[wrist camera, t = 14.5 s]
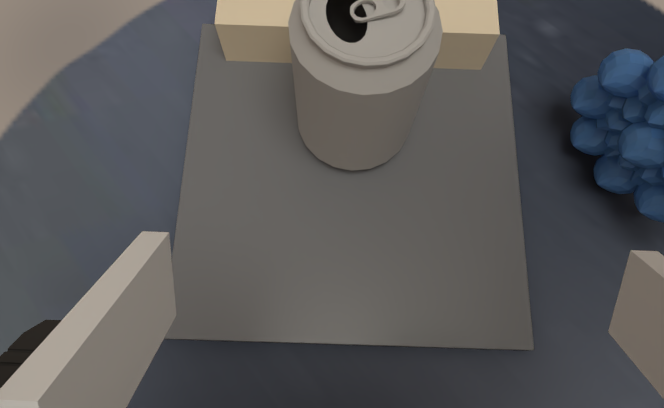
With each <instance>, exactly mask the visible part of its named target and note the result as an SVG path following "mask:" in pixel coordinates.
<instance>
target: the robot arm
mask: <svg viewBox="0 0 664 408" xmlns="http://www.w3.org/2000/svg"><path fill="white" fill-rule="evenodd" d="M175 317H176V304H175V293H174V282H173V271H172V260H171V248H170V237H169V232H145V231H142V232H141V233H140V234H139V236H138V237H137V238H136V239H135V240H134V241H133V242H132V243H131V244H130V245H129V247H128V248H127V249H126V250H125V251H124V252H123V253H122V254H121V255H120V257H119V258H118V259H117V260H116V261H115V262H114V263H113V264H112V265H111V267H110V268H109V269H108V270H107V271H106V272H105V273H104V274H103V275H102V277H101V278H100V279H99V280H98V281H97V282H96V283H95V284H94V285H93V286H92V288H91V289H90V290H89V291H88V292H87V293H86V294H85V295H84V296H83V298H82V299H81V300H80V301H79V302H78V303H77V304H76V305H75V306H74V308H73V309H72V310H71V311H70V312H69V313H68V314H67V315H66V316H65V317H64V319H63V320H45V321H43V322H41V323H40V324H38V325H36V326H34V327H33V328H31V329H29V330H28V331H26V332H24V333H23V334H22V335H21V336H20V337H19V338H18V339H17V340H16V341H15V342H14V343H13V344H12V345H11V346H10V347H9V348H8V351H7V352H4V353H3V354H2V355H1V356H0V408H126V407H127V405H128V404H129V402H130V400H131V398H132V396H133V394H134V392H135V391H136V389H137V387H138V385H139V383H140V381H141V380H142V378H143V376H144V374H145V372H146V370H147V369H148V367H149V365H150V363H151V361H152V359H153V357H154V356H155V354H156V352H157V350H158V348H159V346H160V345H161V343H162V341H163V339H164V337H165V335H166V333H167V332H168V330H169V328H170V326H171V324H172V322H173V321H174V319H175ZM608 332H609V334H610V335H611V336H612V337H613V339H614V340H615V341H616V342H617V343H618V345H619V346H620V347H621V348H622V349H623V351H624V352H625V353H626V354H627V355H628V357H629V358H630V359H631V360H632V361H633V363H634V364H635V365H636V366H637V367H638V369H639V370H640V371H641V372H642V373H643V375H644V376H645V377H646V378H647V379H648V381H649V382H650V383H651V384H652V385H653V387H654V388H655V389H656V390H657V391H658V393H659V394H660V395H661V396H662V398H663V399H664V256H663V255H662V254H661V253H659V252H658V251H637V250H631V251H630V254H629V258H628V261H627V265H626V269H625V272H624V276H623V280H622V283H621V287H620V291H619V294H618V298H617V301H616V305H615V309H614V312H613V316H612V320H611V323H610V327H609V331H608Z"/></svg>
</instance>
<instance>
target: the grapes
mask: <svg viewBox="0 0 664 408" xmlns="http://www.w3.org/2000/svg"><path fill="white" fill-rule="evenodd" d="M570 96H571V105H572V108H573V109H574V110H575V111H576V112H577V113H579V114H580V115H582V116H581V117H580V118H579V119H578V120H576V121H575V122H574V123H573V125H572V128H571V131H570V140H571V143H572V145H573V146H574V147H575V148H576V149H578V150H579V151H581V152H583V153H585V154H589V155H594V156H597V155H602V156H601V157H600V158H598V159H597V160H596V163H595V165H594V168H593V172H594V179H595V181H596V183H597V184H598V185H599V186H600V187H601V188H603V189H605V190H607V191H609V192H613V193H617V194H627V193H632V192H634V191H635V192H634V203H635V205H636V207H637V209H638V211H639V212H640V213H641V214H642V215H644V216H646V217H648V218H649V219H652V220H655V221H659V222H663V223H664V55H663V56H662V57H660V58H659V59H658V60H657V61H655V62H653V60H652V59H651V58H650V57H649V56H648V55H646V54H645V53H643V52H641V51H640V50H633V49H627V48H626V49H622V50H618V51H615V52H612V53H611V54H610V55H609V56H608V57H606V58H605V59H604V60H603V61H602V62H601V65H600V67H599V70H598V76H597V75H593V76H589V77H585V78H583V79H581V80H580V81H579V82H578V83H577V84H576V85H575V86H574V87H573V90H572V93H571V95H570Z"/></svg>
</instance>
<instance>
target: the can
mask: <svg viewBox="0 0 664 408" xmlns="http://www.w3.org/2000/svg"><path fill="white" fill-rule="evenodd" d="M288 26H289V37H290V48H291V58H292V68H293V78H294V88H295V98H296V108H297V118H298V128H299V132H300V134H301V137H302V139H303V141H304V143H305V145H306V147H307V148H308V149H309V150H310V151H311V152H312V153H313V154H314V155H315V156H316V157H317V158H318V159H320V160H322V161H324V162H325V163H327V164H329V165H331V166H333V167H336V168H341V169H346V170H351V171H352V170H364V169H371V168H373V167H376V166H378V165H381V164H383V163H385V162H387V161H388V160H389V159H390V158H392V157H393V156H394V155H395V154H396V153H398V152H399V151H400V149H401V147H402V145H403V144H404V142H405V140H406V139H407V137H408V134H409V132H410V129H411V126H412V123H413V121H414V118H415V115H416V113H417V110H418V107H419V105H420V102H421V99H422V97H423V94H424V91H425V89H426V86H427V83H428V81H429V78H430V75H431V72H432V70H433V67H434V64H435V62H436V59H437V56H438V54H439V50H440V45H441V39H442V33H443V29H442V24H441V19H440V14H439V11H438V9H437V7H436V6H435V1H434V0H295V2H294V4H293V7H292V11H291V14H290V17H289V21H288Z"/></svg>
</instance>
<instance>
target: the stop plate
mask: <svg viewBox="0 0 664 408" xmlns="http://www.w3.org/2000/svg"><path fill="white" fill-rule="evenodd" d="M434 1H435V6H436V7H437V9H438V11H439V14H440V19H441V24H442V29H443V33H442V39H441V45H440V50H439V54H438V56H437V59H436V62H435V64H434V67H433V70H432V72H431V75H430V78H429V81H428V83H427V86H426V89H425V91H424V94H423V97H422V99H421V102H420V105H419V107H418V110H417V113H416V115H415V118H414V121H413V123H412V126H411V129H410V132H409V134H408V137H407V139H406V140H405V142H404V144H403V145H402V147H401V149H400V151H399V152H398V153H396V154H395V155H394V156H393V157H392V158H390V159H389V160H388V161H387V162H385V163H383V164H381V165H378V166H376V167H373V168H371V169H364V170H352V171H351V170H346V169H341V168H336V167H333V166H331V165H329V164H327V163H325V162H324V161H322V160H320V159H318V158H317V157H316V156H315V155H314V154H313V153H312V152H311V151H310V150H309V149H308V148H307V147H306V145H305V143H304V141H303V139H302V137H301V134H300V132H299V128H298V118H297V108H296V98H295V88H294V78H293V68H292V58H291V48H290V37H289V26H288V21H289V17H290V14H291V11H292V7H293V4H294V2H295V0H217V8H216V16H215V24H202V31H201V39H200V46H199V54H198V62H197V70H196V77H195V85H194V93H193V101H192V108H191V116H190V124H189V131H188V139H187V147H186V155H185V162H184V170H183V178H182V185H181V193H180V201H179V209H178V216H177V224H176V232H175V240H174V247H173V255H172V271H173V282H174V293H175V304H176V317H175V319H174V321H173V322H172V324H171V326H170V328H169V330H168V332H167V333H166V335H165V337H164V339H178V340H210V341H241V342H273V343H305V344H336V345H368V346H400V347H431V348H463V349H495V350H526V351H528V350H534V344H533V333H532V322H531V311H530V299H529V288H528V277H527V266H526V255H525V244H524V233H523V222H522V211H521V200H520V188H519V177H518V166H517V155H516V144H515V133H514V122H513V111H512V100H511V89H510V78H509V66H508V55H507V44H506V35H500V32H499V21H498V9H497V0H434Z"/></svg>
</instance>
